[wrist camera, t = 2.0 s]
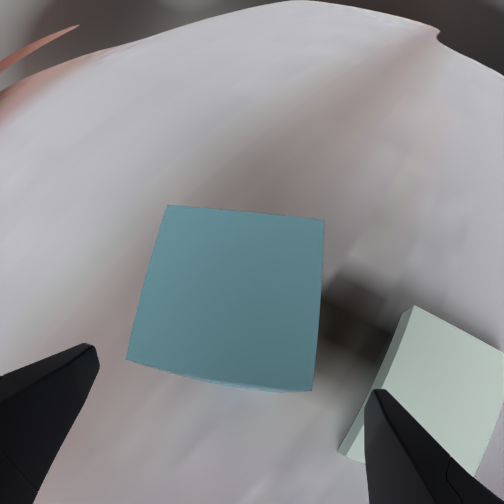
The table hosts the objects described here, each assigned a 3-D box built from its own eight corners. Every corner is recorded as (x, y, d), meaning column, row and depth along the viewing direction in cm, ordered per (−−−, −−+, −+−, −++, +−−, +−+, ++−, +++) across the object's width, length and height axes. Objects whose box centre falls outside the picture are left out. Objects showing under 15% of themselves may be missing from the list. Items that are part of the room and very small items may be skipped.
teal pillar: (281, 392, 17) (311, 390, 6) (208, 382, 18) (125, 359, 7) (290, 322, 19) (324, 219, 8) (220, 313, 20) (167, 205, 9)
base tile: (450, 487, 13) (465, 492, 11) (337, 450, 15) (345, 456, 13) (498, 363, 16) (514, 359, 15) (401, 313, 19) (414, 305, 17)
